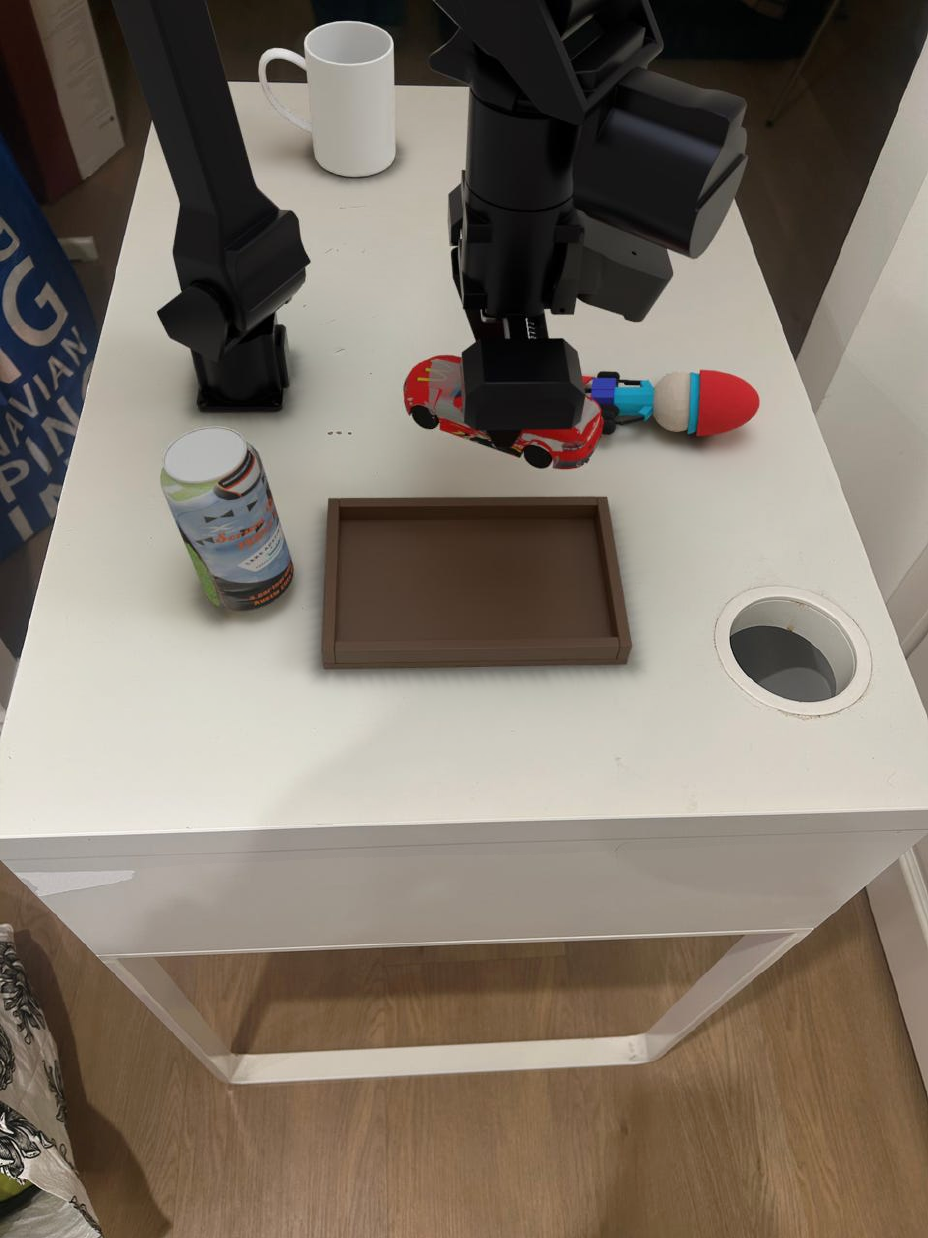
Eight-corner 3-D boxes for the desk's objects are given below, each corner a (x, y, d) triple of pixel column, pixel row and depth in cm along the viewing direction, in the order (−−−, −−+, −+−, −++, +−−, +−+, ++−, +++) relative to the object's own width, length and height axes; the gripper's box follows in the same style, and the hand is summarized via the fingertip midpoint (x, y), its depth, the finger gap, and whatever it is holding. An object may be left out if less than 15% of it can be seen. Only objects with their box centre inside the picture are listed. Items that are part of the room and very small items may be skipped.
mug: (393, 132, 97) (391, 20, 89) (397, 177, 93) (395, 64, 84) (270, 133, 96) (256, 20, 88) (269, 179, 92) (253, 65, 83)
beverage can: (257, 638, 63) (228, 519, 53) (171, 587, 65) (127, 463, 55) (316, 573, 66) (298, 449, 56) (231, 527, 68) (200, 399, 58)
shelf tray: (323, 669, 62) (321, 651, 60) (330, 517, 69) (328, 497, 68) (626, 663, 63) (632, 646, 62) (602, 515, 70) (607, 495, 69)
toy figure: (556, 456, 75) (757, 459, 73) (553, 405, 72) (765, 406, 69) (565, 396, 80) (754, 396, 77) (563, 344, 76) (761, 343, 74)
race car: (388, 418, 63) (386, 371, 60) (425, 368, 66) (425, 320, 63) (577, 488, 60) (585, 442, 57) (607, 432, 63) (618, 385, 60)
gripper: (715, 297, 44) (647, 518, 57) (648, 83, 55) (603, 311, 68) (472, 298, 44) (459, 521, 57) (451, 81, 54) (444, 312, 67)
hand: (499, 407), depth 62 cm, fingers closed on race car, 6 cm apart
